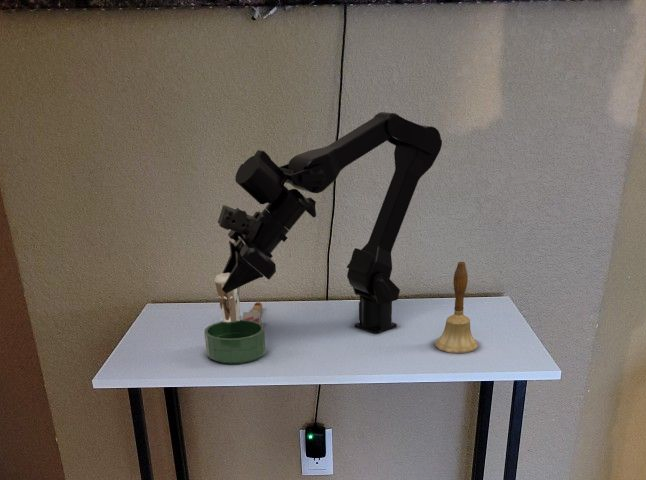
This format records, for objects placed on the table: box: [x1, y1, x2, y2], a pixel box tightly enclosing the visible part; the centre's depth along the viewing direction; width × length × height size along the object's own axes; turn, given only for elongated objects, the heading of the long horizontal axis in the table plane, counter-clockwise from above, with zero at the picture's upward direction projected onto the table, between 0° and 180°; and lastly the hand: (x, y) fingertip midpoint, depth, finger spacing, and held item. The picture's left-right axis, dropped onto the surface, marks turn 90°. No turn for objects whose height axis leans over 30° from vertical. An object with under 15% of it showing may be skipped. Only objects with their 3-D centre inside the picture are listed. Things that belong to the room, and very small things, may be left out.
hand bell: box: [434, 261, 479, 354], centre depth 141 cm, size 8×8×16 cm
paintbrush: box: [241, 301, 264, 326], centre depth 158 cm, size 4×3×20 cm
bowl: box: [204, 319, 267, 365], centre depth 143 cm, size 11×11×5 cm
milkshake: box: [214, 272, 241, 325], centre depth 139 cm, size 4×5×10 cm
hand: (222, 287), depth 137 cm, fingers closed on milkshake, 4 cm apart
